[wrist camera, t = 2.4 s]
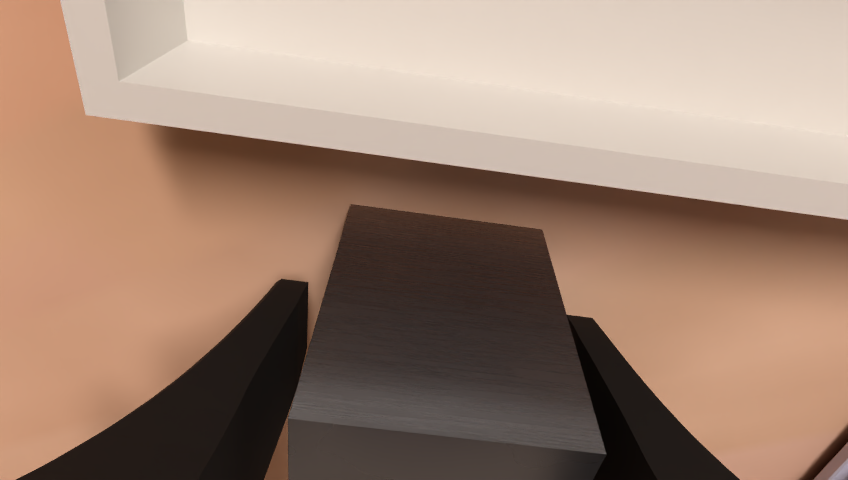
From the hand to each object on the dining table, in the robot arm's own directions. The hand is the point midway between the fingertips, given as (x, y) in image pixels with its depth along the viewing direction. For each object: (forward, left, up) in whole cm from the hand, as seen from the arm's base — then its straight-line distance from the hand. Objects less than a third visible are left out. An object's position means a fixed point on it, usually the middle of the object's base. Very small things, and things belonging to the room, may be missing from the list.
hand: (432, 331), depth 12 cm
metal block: (0, 0, -2) cm, 2 cm away
